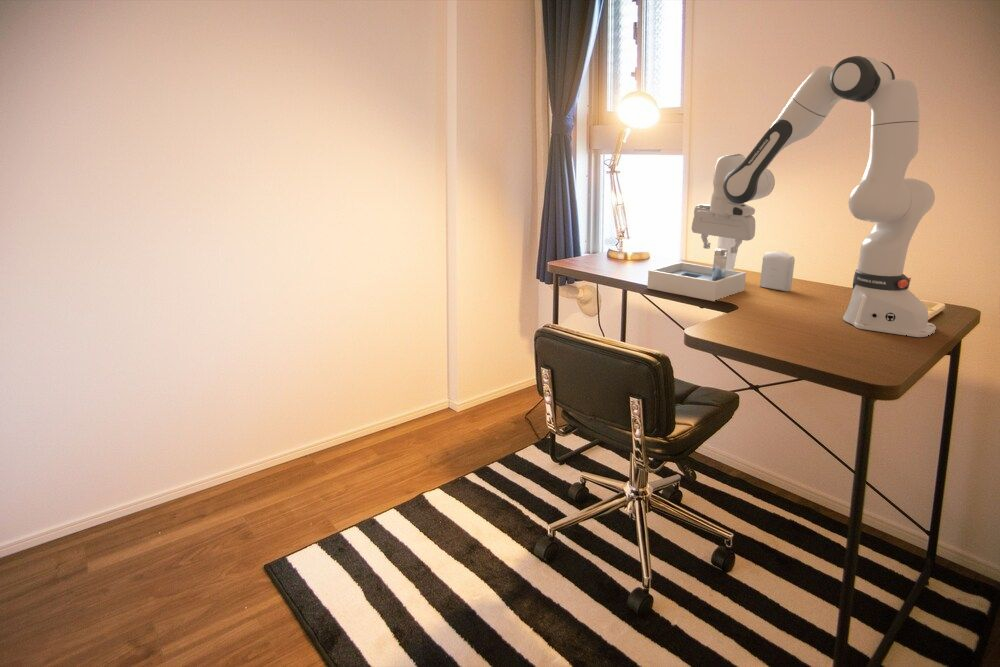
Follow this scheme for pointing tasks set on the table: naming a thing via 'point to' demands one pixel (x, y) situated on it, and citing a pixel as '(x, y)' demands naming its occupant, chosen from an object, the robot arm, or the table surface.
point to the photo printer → (777, 270)
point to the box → (695, 281)
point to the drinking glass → (731, 257)
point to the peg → (719, 264)
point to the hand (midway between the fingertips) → (720, 250)
